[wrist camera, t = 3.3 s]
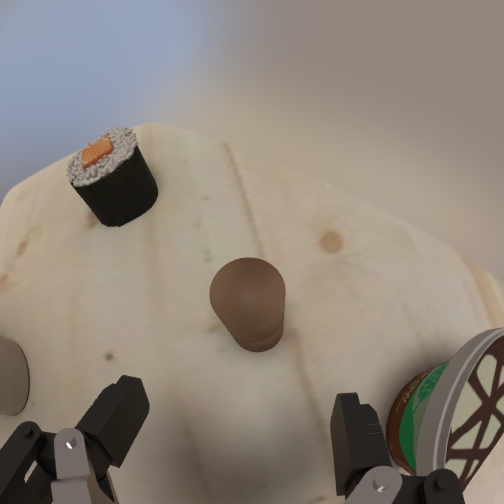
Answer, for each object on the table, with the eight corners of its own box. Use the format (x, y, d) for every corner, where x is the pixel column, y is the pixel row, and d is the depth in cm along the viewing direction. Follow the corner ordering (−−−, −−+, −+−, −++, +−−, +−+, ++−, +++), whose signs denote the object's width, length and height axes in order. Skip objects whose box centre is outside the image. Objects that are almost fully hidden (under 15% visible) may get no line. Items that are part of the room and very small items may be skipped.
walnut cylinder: (230, 350, 21) (205, 326, 14) (234, 303, 23) (214, 257, 16) (282, 352, 20) (284, 329, 13) (283, 304, 22) (285, 257, 15)
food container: (428, 325, 20) (498, 278, 11) (470, 363, 17) (547, 333, 9) (338, 444, 16) (385, 477, 8) (389, 481, 14) (453, 518, 5)
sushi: (167, 200, 29) (141, 145, 22) (103, 238, 27) (64, 192, 20) (148, 162, 33) (125, 113, 26) (93, 194, 31) (62, 151, 24)
